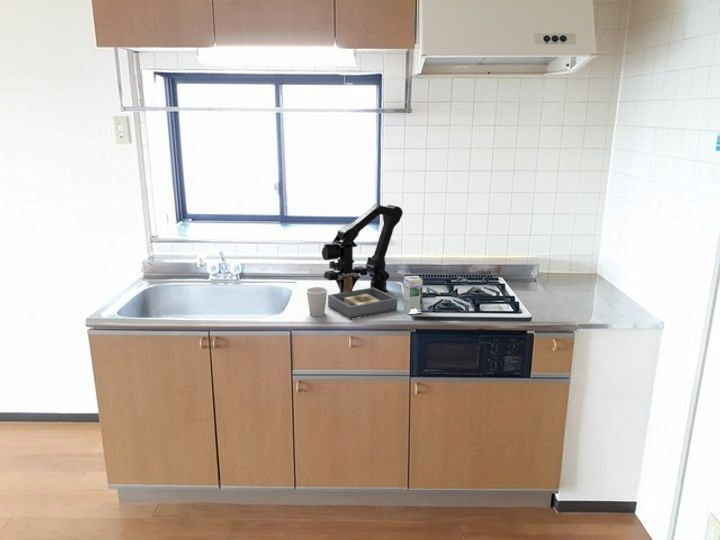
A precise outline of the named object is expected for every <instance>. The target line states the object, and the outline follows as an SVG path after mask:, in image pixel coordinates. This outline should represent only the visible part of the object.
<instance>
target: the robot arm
mask: <svg viewBox="0 0 720 540" xmlns="http://www.w3.org/2000/svg"><path fill="white" fill-rule="evenodd" d="M403 214H404V213H403V210H402V208H401V207H400V206H398V205H397V206H396V205H391V204H388V205H386V206H384V205H380V204H375V203H374V204H373V205H371V207H370V208H369V209H367V210H366V211H365V212H364V213H362V214H361V215H360V216H359V217H357V219H355V220H354V221H353V222H351V223H349V224H345V225H344V226H342V227H340V228H339V229H338V230H337V234H336V236H335V237H334V239H332V242H331V243H324V244H323V245H324V246H323V247H322V249H321V255H322V259H323V260H324V261H329V264H328V265H329V269H330V270H327V271H325V272H324V273H323V277H324V279H326V280H328V281H335V282H336V284H337V287H338V290H339V293H340V292H341V293H343V286H344V279H342V276H346V275H348V276H350V277H352V290H353V289H354V288H355V285H356V283H357V281H358V280H359V279H360V278H361V277H362V276H363V277H364V276H368V274H369V277H371V280H370V284H369V285H370V287H369V288H373V287H374V288H376V289H378V290H380V291H382V292H384V293H388V292H389V290H388V289H387V282H388V281H387V280H389V278H390V276H391V275H390V274H389V273H388V272H387V270H386V254H387V252H388V249H389V244H390V242H391V239H392V235H393V232H394V229H395V227H396V225H398V223H400V221H401V218H403V217H402V216H403ZM380 215H382V220H383V221H382V222H383V225H382V229H381V231H380V235H379V238H378V241H377V245H376V248H375V251H374V253H373V255H372V256H371V257H370V256H368V257H367V261H366V264H365V266H366V267H363V266H353V264H355V260H354V257H353V255H354V254H353V253H354V251H353V250H354V249H353V248H355V247H358V244H356V243H355V240H356V239H357V237H359V235H360V232H361V231H362V230H363V229H364V228H366V226H367V225H369V224H370V223H371V222H373V221H374V220H375V219H376V218H377V217H378V216H380ZM331 260H332V261H331ZM334 260H337V262H335V261H334Z"/></svg>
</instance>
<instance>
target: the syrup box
mask: <svg viewBox="0 0 720 540" xmlns="http://www.w3.org/2000/svg"><path fill="white" fill-rule="evenodd" d="M423 281H424V280H423V278H422V277H420V276H418V275H414V276H412V275H411V276H404V277H403V311H404V313H406V315H408V314H409V312H410V310H411V309H415V308H416V309H423V286H424V285H423Z"/></svg>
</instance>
